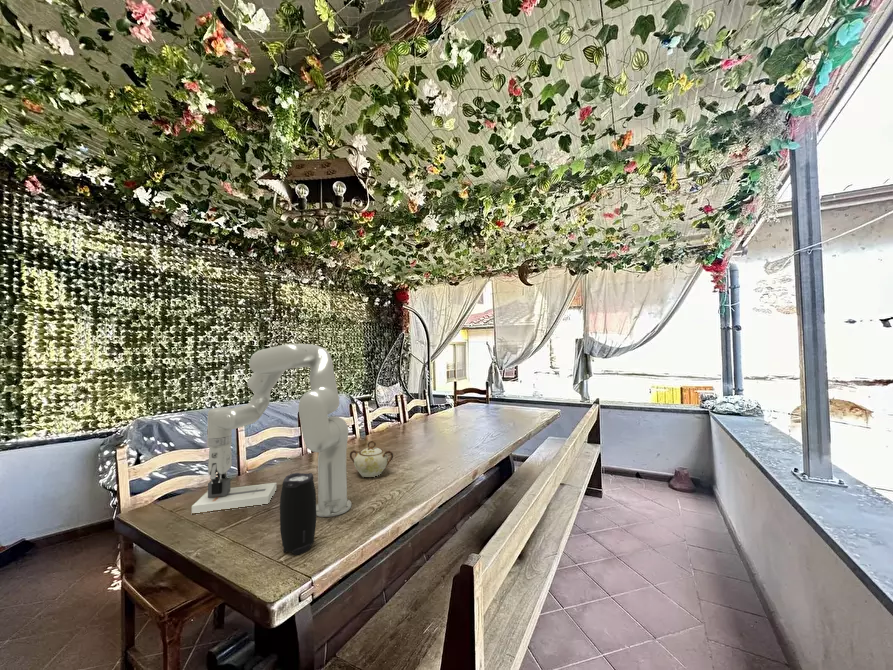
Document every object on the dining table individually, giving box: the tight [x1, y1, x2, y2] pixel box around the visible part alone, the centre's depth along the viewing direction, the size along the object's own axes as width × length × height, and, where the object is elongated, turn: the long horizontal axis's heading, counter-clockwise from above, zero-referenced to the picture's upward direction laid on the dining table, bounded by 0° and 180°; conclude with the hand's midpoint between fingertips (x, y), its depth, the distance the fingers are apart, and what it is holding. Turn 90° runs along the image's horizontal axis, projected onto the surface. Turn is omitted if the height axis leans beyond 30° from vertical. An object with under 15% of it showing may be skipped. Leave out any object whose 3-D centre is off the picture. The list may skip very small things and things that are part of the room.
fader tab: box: [207, 477, 231, 498], centre depth 125 cm, size 4×6×5 cm
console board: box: [191, 482, 277, 514], centre depth 127 cm, size 14×24×3 cm, turn 106°
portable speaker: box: [279, 472, 317, 556], centre depth 95 cm, size 9×9×20 cm
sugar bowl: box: [349, 440, 394, 478], centre depth 151 cm, size 20×15×15 cm
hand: (219, 490), depth 125 cm, fingers closed on fader tab, 4 cm apart
